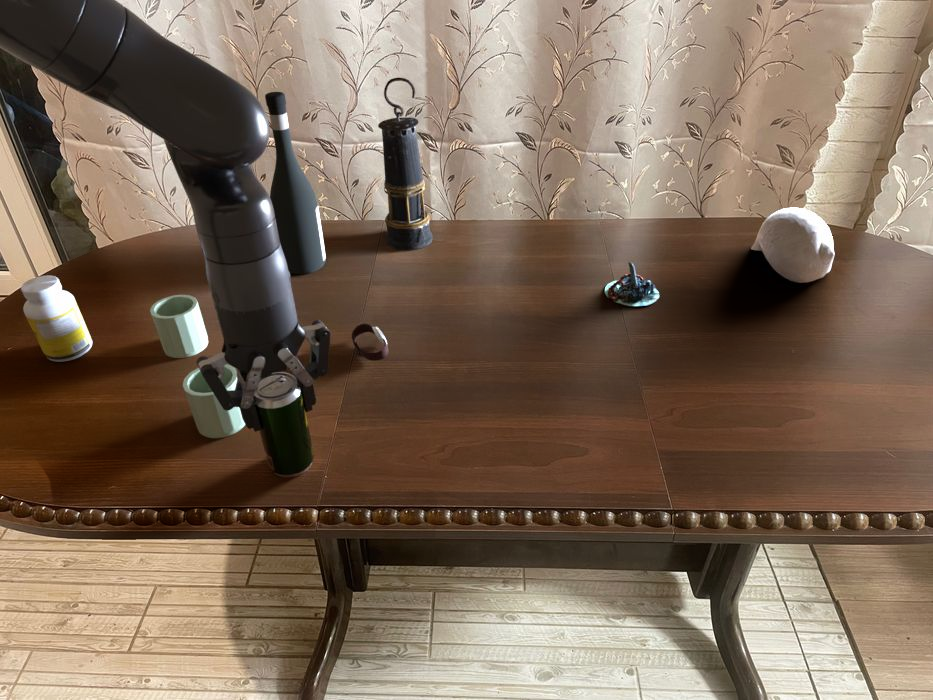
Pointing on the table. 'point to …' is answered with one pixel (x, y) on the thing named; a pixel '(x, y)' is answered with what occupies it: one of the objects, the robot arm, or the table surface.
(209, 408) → the near pot
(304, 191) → the wine bottle
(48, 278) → the pill bottle
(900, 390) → the table surface
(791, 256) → the seashell
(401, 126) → the lantern
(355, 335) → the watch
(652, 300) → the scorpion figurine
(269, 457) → the beer can
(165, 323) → the far pot
